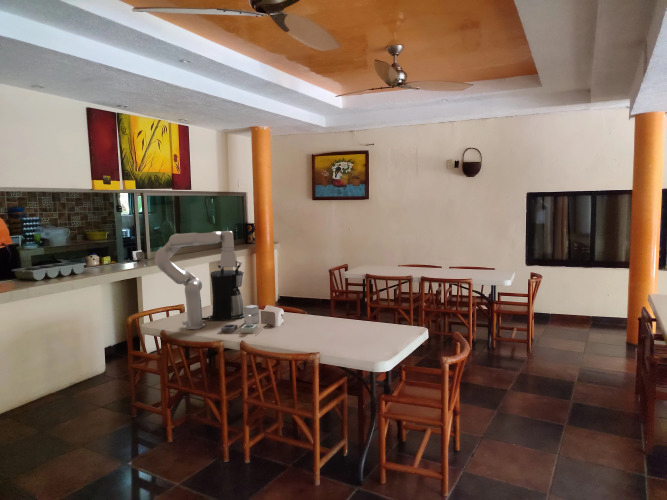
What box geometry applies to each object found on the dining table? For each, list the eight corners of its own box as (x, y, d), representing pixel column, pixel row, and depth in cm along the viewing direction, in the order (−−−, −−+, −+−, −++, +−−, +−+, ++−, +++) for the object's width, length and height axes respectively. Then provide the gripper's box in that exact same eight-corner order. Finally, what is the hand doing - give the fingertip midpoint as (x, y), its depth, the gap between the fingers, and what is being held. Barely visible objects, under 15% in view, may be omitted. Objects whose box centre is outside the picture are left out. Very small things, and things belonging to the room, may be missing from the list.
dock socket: (241, 332, 294) (240, 327, 293) (245, 329, 301) (244, 324, 301) (253, 332, 293) (253, 327, 292) (257, 329, 300) (257, 324, 300)
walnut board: (216, 336, 293) (216, 329, 292) (224, 329, 307) (224, 323, 306) (255, 336, 290) (255, 329, 289) (261, 329, 303) (261, 323, 303)
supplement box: (251, 326, 312) (250, 308, 311) (244, 325, 317) (243, 306, 315) (259, 324, 318) (258, 305, 317) (252, 322, 323) (251, 304, 321)
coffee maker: (251, 316, 340) (248, 270, 336) (210, 325, 319) (206, 276, 315) (235, 311, 357) (232, 267, 353) (195, 319, 336) (192, 273, 332)
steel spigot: (245, 331, 295) (244, 316, 294) (247, 329, 299) (246, 314, 298) (251, 331, 295) (250, 316, 294) (253, 329, 299) (252, 314, 298)
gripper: (213, 250, 310) (215, 276, 312) (239, 250, 308) (240, 275, 309) (217, 249, 317) (219, 274, 319) (242, 248, 315) (244, 273, 317)
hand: (229, 274), depth 314 cm, fingers open, 9 cm apart
